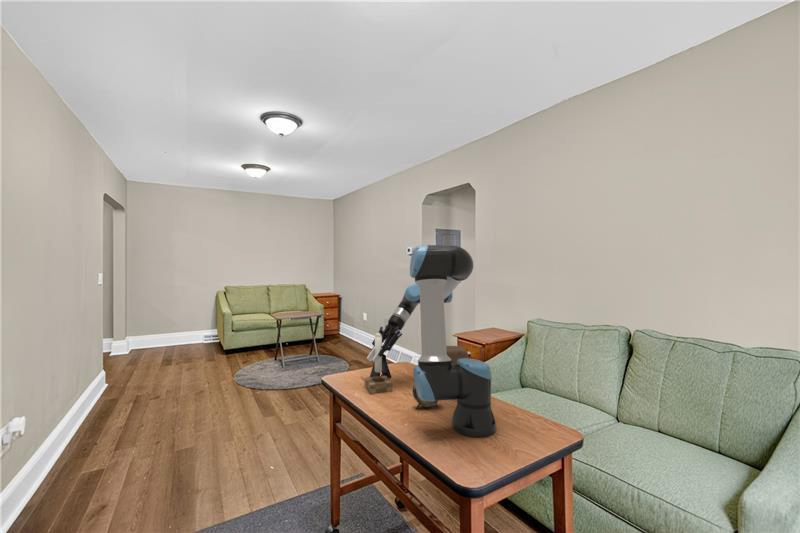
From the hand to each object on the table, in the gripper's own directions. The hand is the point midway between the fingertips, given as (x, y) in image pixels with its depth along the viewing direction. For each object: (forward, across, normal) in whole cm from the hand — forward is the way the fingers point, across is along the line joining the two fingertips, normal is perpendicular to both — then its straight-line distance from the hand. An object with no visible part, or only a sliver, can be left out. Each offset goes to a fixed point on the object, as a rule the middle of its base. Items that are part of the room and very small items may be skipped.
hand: (371, 360), depth 161 cm
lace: (+5, +12, -14) cm, 19 cm away
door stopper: (0, +10, -20) cm, 22 cm away
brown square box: (+7, 0, -12) cm, 14 cm away
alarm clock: (+6, -29, -13) cm, 32 cm away
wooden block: (-7, -28, -26) cm, 39 cm away
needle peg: (+1, 0, -7) cm, 7 cm away
